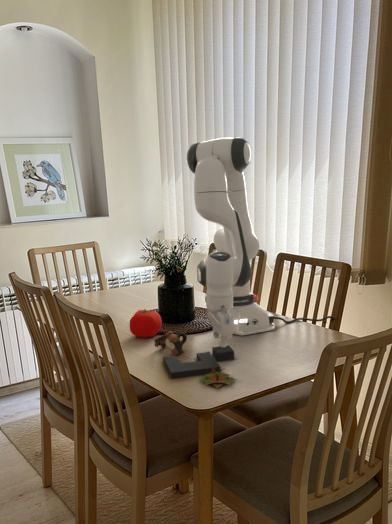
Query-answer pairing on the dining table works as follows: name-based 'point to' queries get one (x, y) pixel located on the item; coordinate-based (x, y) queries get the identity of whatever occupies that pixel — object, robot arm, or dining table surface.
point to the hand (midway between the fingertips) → (219, 342)
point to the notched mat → (191, 366)
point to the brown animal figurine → (172, 341)
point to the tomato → (145, 323)
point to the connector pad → (223, 353)
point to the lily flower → (217, 378)
